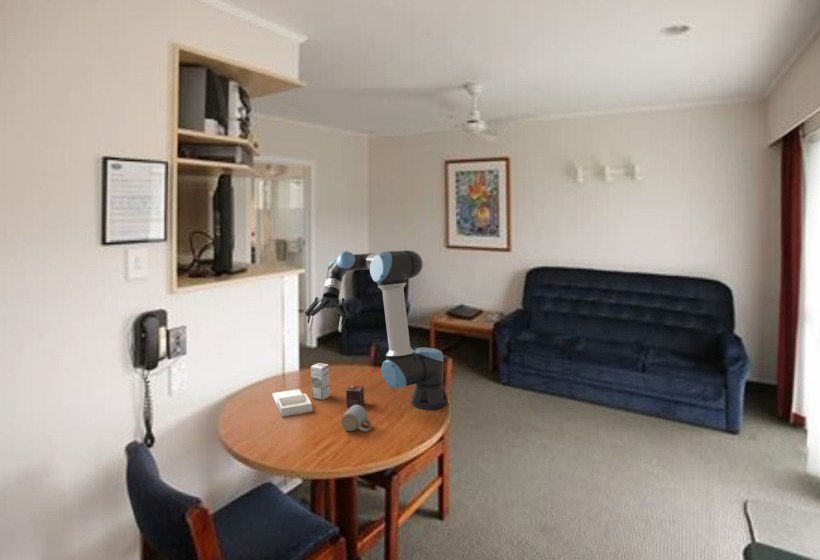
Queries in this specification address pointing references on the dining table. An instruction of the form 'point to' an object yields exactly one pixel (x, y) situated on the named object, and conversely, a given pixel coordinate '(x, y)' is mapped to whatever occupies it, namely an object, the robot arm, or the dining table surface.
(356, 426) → the ceramic mug
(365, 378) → the dining table surface
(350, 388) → the box
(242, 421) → the dining table surface
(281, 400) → the mailer
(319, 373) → the syrup box
